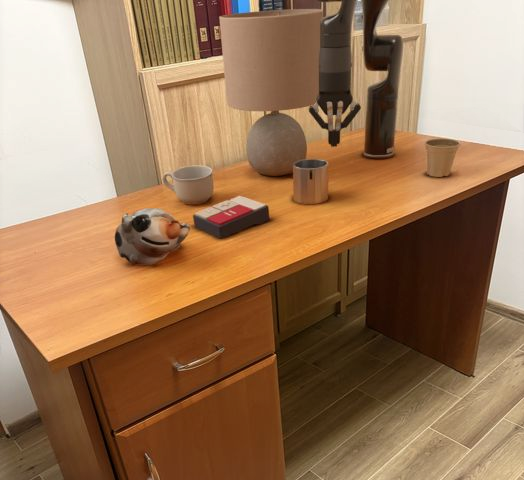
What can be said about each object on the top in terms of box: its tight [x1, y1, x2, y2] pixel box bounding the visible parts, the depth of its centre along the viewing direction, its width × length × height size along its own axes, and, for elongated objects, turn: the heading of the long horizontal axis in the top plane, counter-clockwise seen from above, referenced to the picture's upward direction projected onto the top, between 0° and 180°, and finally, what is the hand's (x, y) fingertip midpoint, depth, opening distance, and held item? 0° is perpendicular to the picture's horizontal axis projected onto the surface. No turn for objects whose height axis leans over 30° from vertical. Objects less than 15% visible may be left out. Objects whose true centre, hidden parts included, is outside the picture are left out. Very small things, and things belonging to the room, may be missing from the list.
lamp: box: [219, 8, 324, 177], centre depth 151 cm, size 27×27×41 cm
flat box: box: [192, 195, 270, 239], centre depth 129 cm, size 11×4×15 cm
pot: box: [292, 158, 330, 205], centre depth 139 cm, size 9×12×9 cm
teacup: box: [161, 164, 215, 206], centre depth 144 cm, size 14×11×8 cm
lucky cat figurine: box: [114, 207, 191, 266], centre depth 113 cm, size 15×12×14 cm
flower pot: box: [424, 138, 461, 178], centre depth 150 cm, size 9×9×9 cm
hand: (333, 145), depth 134 cm, fingers closed
